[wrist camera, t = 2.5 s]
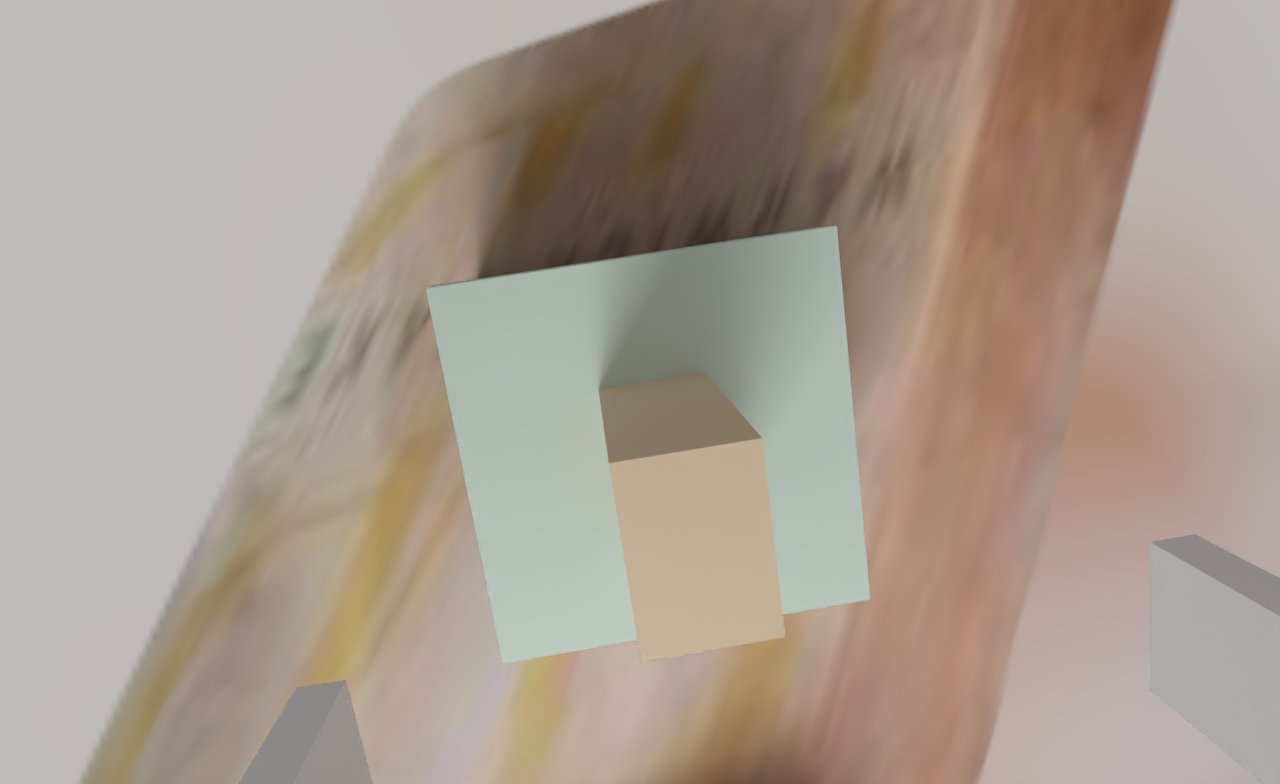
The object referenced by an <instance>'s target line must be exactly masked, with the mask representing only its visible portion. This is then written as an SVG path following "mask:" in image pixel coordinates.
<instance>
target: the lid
mask: <svg viewBox="0 0 1280 784" xmlns="http://www.w3.org/2000/svg"><path fill="white" fill-rule="evenodd" d="M426 293H427V298H428V302H429V307H430V312H431V317H432V322H433V327H434V332H435V337H436V341H437V346H438V351H439V356H440V361H441V366H442V371H443V376H444V380H445V385H446V390H447V395H448V400H449V405H450V410H451V415H452V419H453V424H454V429H455V434H456V439H457V444H458V449H459V454H460V458H461V463H462V468H463V473H464V478H465V483H466V488H467V493H468V497H469V502H470V507H471V512H472V517H473V522H474V527H475V532H476V536H477V541H478V546H479V551H480V556H481V561H482V566H483V571H484V575H485V580H486V585H487V590H488V595H489V600H490V605H491V609H492V614H493V619H494V624H495V629H496V634H497V639H498V644H499V648H500V653H501V658H502V663H503V664H505V663H510V662H516V661H522V660H528V659H533V658H539V657H545V656H550V655H556V654H562V653H567V652H573V651H579V650H584V649H590V648H596V647H602V646H607V645H613V644H619V643H624V642H630V641H636V640H637V641H638V647H639V653H640V659H641V663H642V662H648V661H654V660H659V659H665V658H671V657H676V656H682V655H687V654H693V653H699V652H704V651H710V650H716V649H721V648H727V647H733V646H738V645H744V644H750V643H755V642H761V641H767V640H772V639H778V638H784V637H785V630H784V621H783V615H784V614H790V613H795V612H801V611H807V610H812V609H818V608H824V607H829V606H835V605H841V604H846V603H852V602H858V601H864V600H869V599H870V593H869V582H868V570H867V559H866V548H865V537H864V525H863V514H862V503H861V491H860V480H859V469H858V458H857V446H856V435H855V424H854V413H853V401H852V390H851V379H850V367H849V356H848V345H847V334H846V322H845V311H844V300H843V288H842V277H841V266H840V255H839V243H838V232H837V226H822V227H815V228H809V229H802V230H795V231H789V232H782V233H776V234H769V235H763V236H756V237H749V238H743V239H736V240H730V241H723V242H717V243H710V244H703V245H697V246H690V247H684V248H677V249H670V250H664V251H657V252H651V253H644V254H638V255H631V256H624V257H618V258H611V259H605V260H598V261H592V262H585V263H578V264H572V265H565V266H559V267H552V268H546V269H539V270H532V271H526V272H519V273H513V274H506V275H500V276H493V277H486V278H480V279H473V280H467V281H460V282H454V283H447V284H440V285H434V286H430V287H428V288H426Z"/></svg>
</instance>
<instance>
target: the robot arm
mask: <svg viewBox="0 0 1280 784" xmlns="http://www.w3.org/2000/svg"><path fill="white" fill-rule="evenodd" d="M1150 691H1151V692H1153V693H1154V694H1155V695H1156V696H1158V697H1159V698H1160V699H1161V700H1162V701H1163V702H1165V703H1166V704H1167V705H1168V706H1169V707H1171V708H1172V709H1173V710H1174V711H1175V712H1177V713H1178V714H1179V715H1180V716H1182V717H1183V718H1184V719H1185V720H1186V721H1187V722H1189V723H1190V724H1191V725H1192V726H1193V727H1195V728H1196V729H1197V730H1198V731H1200V732H1201V733H1202V734H1203V735H1204V736H1206V737H1207V738H1208V739H1209V740H1210V741H1212V742H1213V743H1214V744H1215V745H1216V746H1218V747H1219V748H1220V749H1221V750H1222V751H1224V752H1225V753H1226V754H1227V755H1228V756H1230V757H1231V758H1232V759H1233V760H1234V761H1235V762H1237V763H1238V764H1239V765H1240V766H1242V767H1243V768H1244V769H1245V770H1246V771H1247V772H1249V773H1250V774H1251V775H1252V776H1254V777H1255V778H1256V779H1257V780H1258V781H1259V782H1261V783H1262V784H1280V578H1278V577H1276V576H1274V575H1273V574H1271V573H1268V572H1267V571H1265V570H1263V569H1261V568H1259V567H1257V566H1255V565H1253V564H1251V563H1249V562H1247V561H1245V560H1244V559H1242V558H1240V557H1238V556H1236V555H1234V554H1232V553H1230V552H1228V551H1226V550H1224V549H1222V548H1220V547H1218V546H1216V545H1215V544H1213V543H1211V542H1209V541H1207V540H1205V539H1203V538H1201V537H1199V536H1197V535H1190V536H1184V537H1178V538H1172V539H1166V540H1161V541H1155V542H1150ZM239 784H373V783H372V779H371V775H370V772H369V768H368V764H367V760H366V756H365V752H364V748H363V745H362V741H361V737H360V733H359V729H358V725H357V721H356V718H355V714H354V710H353V706H352V702H351V698H350V694H349V690H348V687H347V683H346V680H341V681H335V682H330V683H324V684H318V685H312V686H306V687H300V688H296V690H295V692H294V693H293V695H292V697H291V698H290V700H289V702H288V703H287V705H286V707H285V708H284V710H283V712H282V713H281V715H280V717H279V718H278V720H277V722H276V723H275V725H274V727H273V728H272V730H271V732H270V733H269V735H268V737H267V738H266V740H265V742H264V743H263V745H262V747H261V748H260V750H259V752H258V753H257V755H256V757H255V758H254V760H253V762H252V763H251V765H250V767H249V768H248V770H247V772H246V773H245V775H244V777H243V778H242V780H241V782H240V783H239Z"/></svg>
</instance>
